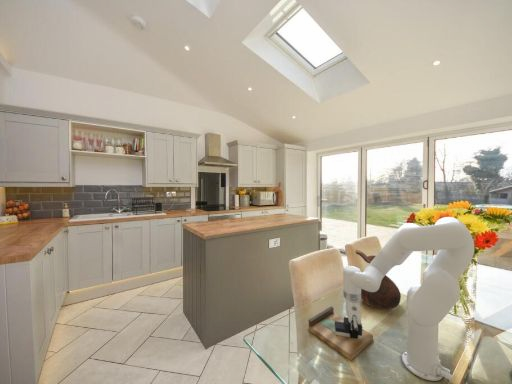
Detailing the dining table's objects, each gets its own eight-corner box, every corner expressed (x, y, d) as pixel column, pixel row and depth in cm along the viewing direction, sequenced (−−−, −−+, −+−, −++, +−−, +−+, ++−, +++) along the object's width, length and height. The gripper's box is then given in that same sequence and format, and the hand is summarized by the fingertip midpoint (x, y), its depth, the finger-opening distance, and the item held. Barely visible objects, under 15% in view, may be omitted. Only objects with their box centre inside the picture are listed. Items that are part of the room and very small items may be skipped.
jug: (375, 290, 139) (375, 245, 137) (409, 309, 119) (410, 256, 117) (349, 298, 131) (349, 250, 129) (381, 319, 111) (381, 263, 109)
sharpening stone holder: (372, 340, 97) (372, 328, 97) (351, 360, 87) (350, 347, 87) (331, 315, 115) (331, 306, 115) (308, 330, 105) (308, 319, 105)
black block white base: (359, 331, 100) (359, 319, 99) (361, 339, 95) (362, 326, 94) (334, 327, 102) (334, 315, 102) (335, 334, 98) (335, 322, 97)
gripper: (365, 306, 88) (365, 347, 89) (357, 285, 104) (357, 320, 106) (346, 304, 90) (346, 344, 91) (340, 284, 106) (341, 318, 107)
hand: (352, 331), depth 98 cm, fingers open, 6 cm apart
